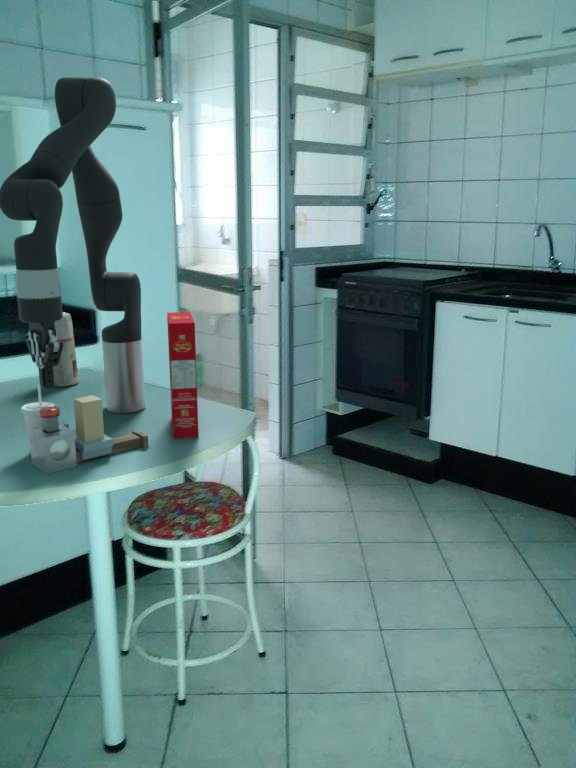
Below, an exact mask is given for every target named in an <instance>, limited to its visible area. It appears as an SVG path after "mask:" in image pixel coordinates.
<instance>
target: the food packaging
mask: <svg viewBox="0 0 576 768" xmlns="http://www.w3.org/2000/svg"><path fill="white" fill-rule="evenodd" d="M166 316H167V317H166V318H167V319H166V320H167V321H166V322H167V342H168V363H169V385H170V386H169V387H170V390H169V391H170V408H171V409H170V410H171V423H172V424H171V425H173V426H172V432H173V440H178V439H192V438H193V439H195V438H196V439H197V438H200V437H199V435H200V434H199V409H198V407H199V406H198V382H197V379H198V377H197V375H198V374H197V354H196V353H197V351H196V350H197V348H196V345H197V344H196V323H195V319H194V317H193V314H192V312H191V311H185V312H184V311H181V312H177V311H175V312H166Z"/></svg>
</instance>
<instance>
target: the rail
mask: <svg viewBox="0 0 576 768" xmlns="http://www.w3.org/2000/svg"><path fill="white" fill-rule="evenodd" d="M112 439H113V446H112V447H111V448H112V453H109V454H104V455H100V456H96V457H92V458H88V459H84V460H83V459H81V451H80V450H79V449H77V448H76V447H75V449H76V462H77V463H80V462H84V461H89V460H92V459H96V458H100V457H105V456H108V455H112V454H116V453H121V452H124V451H128V450H132V449H137V448H141V447H142V448H148V447H149V435H147V434H145V433H144V432H142V431H140V430H137V429H134V430H131V434H127V435H124V436H118V437H113V438H112Z"/></svg>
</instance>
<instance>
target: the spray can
mask: <svg viewBox="0 0 576 768" xmlns="http://www.w3.org/2000/svg"><path fill="white" fill-rule="evenodd" d="M62 312H63V318H62V319H61V320H58V321H55V323H54V324H55V328H56V331H57V341H62V342H63V349H62V353H61V356H60V360H59V364H58V365H57V366H55V367H53V373H54V387H55V388H56V387H59V388H62V387H69V386H73V385H76V384H78V383H79V374H78V373H79V371H78V365H77V353H76V345H75V335H74V327H73V320H72V316H71V314H70V313H68V312H65V311H62ZM54 387H53V388H54Z"/></svg>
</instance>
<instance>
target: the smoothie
mask: <svg viewBox="0 0 576 768" xmlns="http://www.w3.org/2000/svg"><path fill="white" fill-rule="evenodd" d="M41 388H42V387H41V386H40V383H38V384H37V394H38V402H36V401H35V402H31V403H26V404H25V405H23V406H21V414H22V415H23V417H24V422H25V425H26V429H27V434H28V439H29V440H30V437H29V429H32V428H37V427H42V426H43V421H42V418H41V417H40V413H39V410H40V409H41V408H44V407H56V405H55V403H53V402H50V401H43V399H42V389H41Z"/></svg>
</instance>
